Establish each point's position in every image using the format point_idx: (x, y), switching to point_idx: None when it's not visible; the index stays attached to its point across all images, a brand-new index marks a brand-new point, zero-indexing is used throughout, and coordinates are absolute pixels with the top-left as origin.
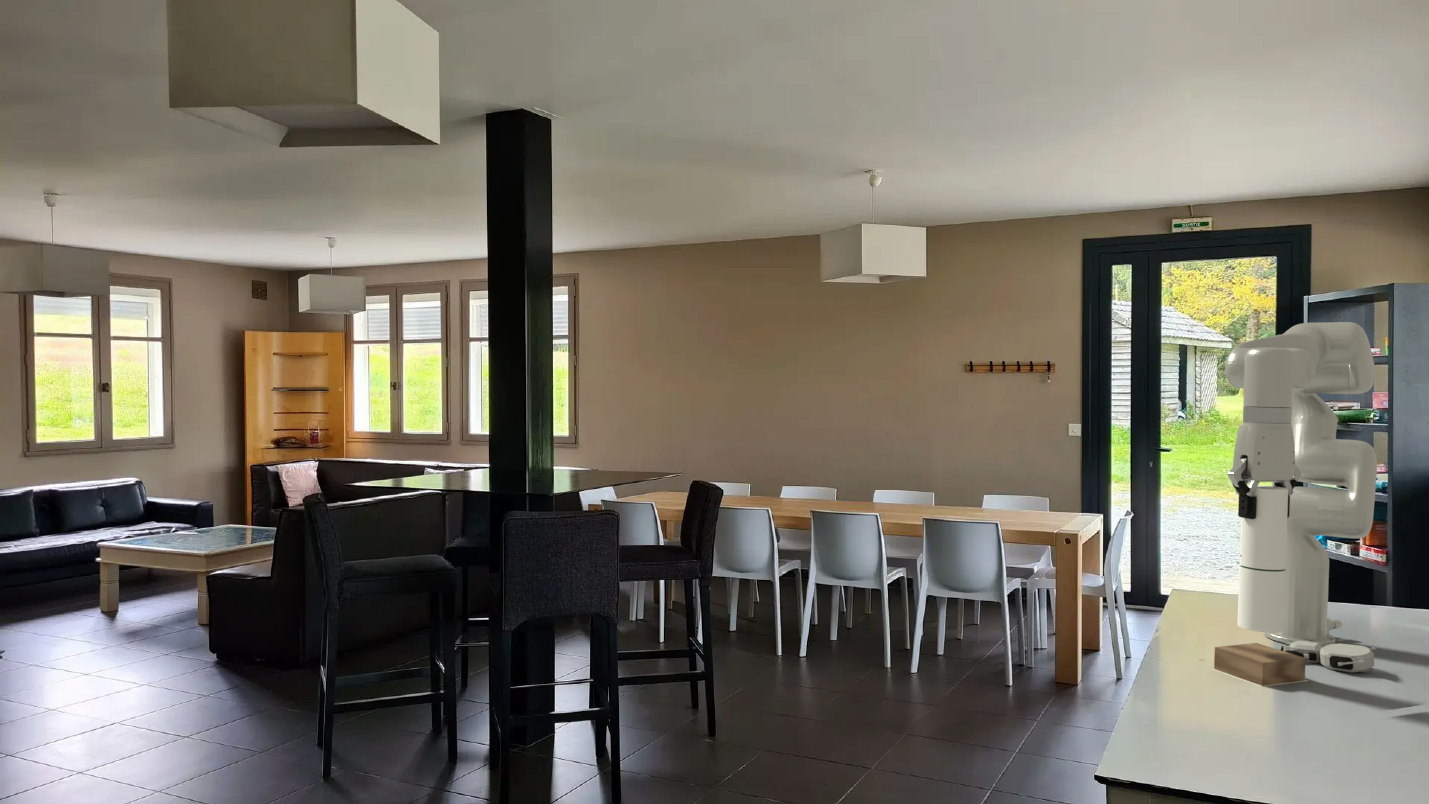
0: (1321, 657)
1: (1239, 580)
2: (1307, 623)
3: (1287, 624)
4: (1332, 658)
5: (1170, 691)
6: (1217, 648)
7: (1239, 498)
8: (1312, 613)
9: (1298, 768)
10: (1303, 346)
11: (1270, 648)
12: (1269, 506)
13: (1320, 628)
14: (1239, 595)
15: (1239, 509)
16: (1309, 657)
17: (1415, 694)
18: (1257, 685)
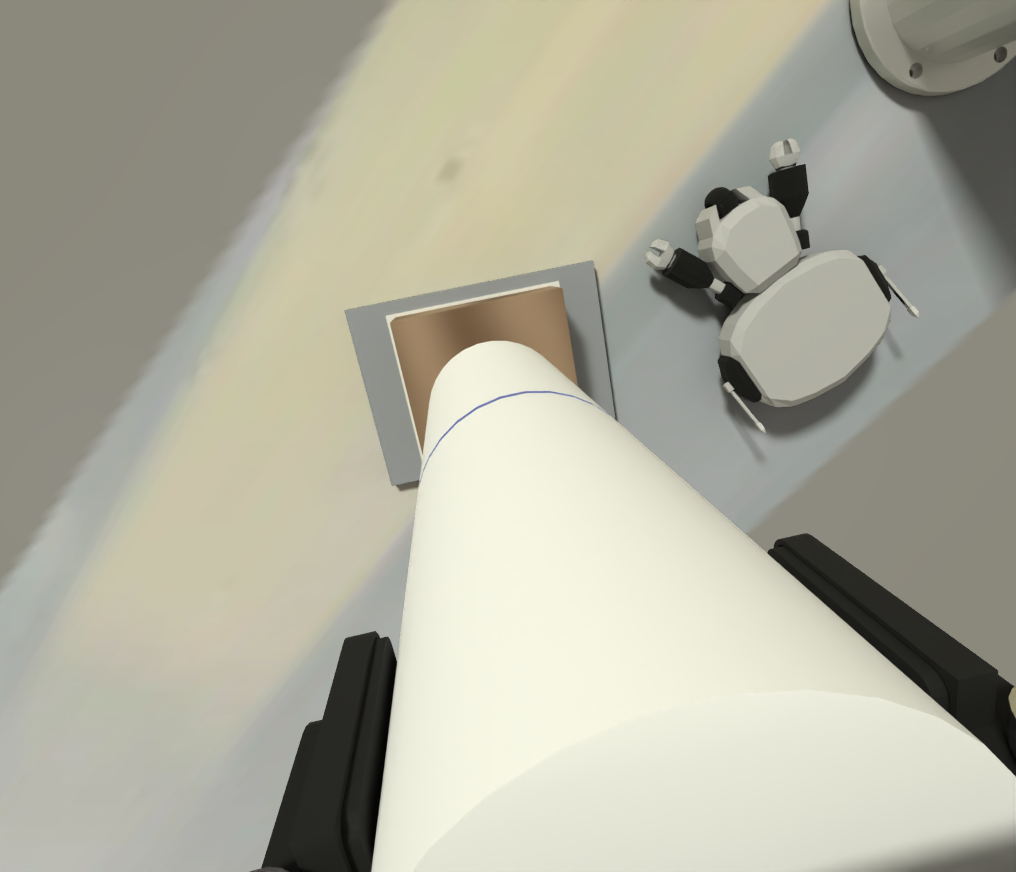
0: (731, 325)
1: (430, 424)
2: (963, 32)
3: None
4: (729, 368)
5: (186, 444)
6: (392, 332)
7: (306, 800)
8: (1012, 23)
9: (213, 825)
10: None
11: (560, 352)
12: None
13: (990, 48)
14: (429, 414)
15: (303, 738)
16: (716, 296)
17: (776, 502)
18: (421, 460)
